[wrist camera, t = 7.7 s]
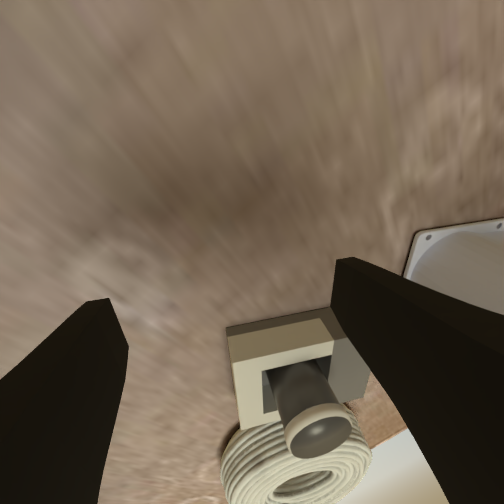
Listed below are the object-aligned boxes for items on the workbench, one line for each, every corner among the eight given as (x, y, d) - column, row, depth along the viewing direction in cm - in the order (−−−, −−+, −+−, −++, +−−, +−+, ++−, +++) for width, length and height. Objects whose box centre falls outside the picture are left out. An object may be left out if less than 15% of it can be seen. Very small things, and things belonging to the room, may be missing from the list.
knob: (310, 365, 25) (351, 445, 19) (264, 380, 24) (291, 467, 18) (310, 330, 23) (356, 409, 17) (258, 345, 22) (286, 433, 16)
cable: (257, 484, 38) (268, 543, 33) (187, 442, 29) (187, 515, 24) (363, 428, 37) (392, 480, 32) (325, 367, 28) (357, 426, 23)
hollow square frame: (357, 301, 24) (381, 329, 21) (344, 366, 28) (363, 397, 25) (225, 328, 22) (232, 363, 19) (234, 393, 26) (240, 430, 23)
